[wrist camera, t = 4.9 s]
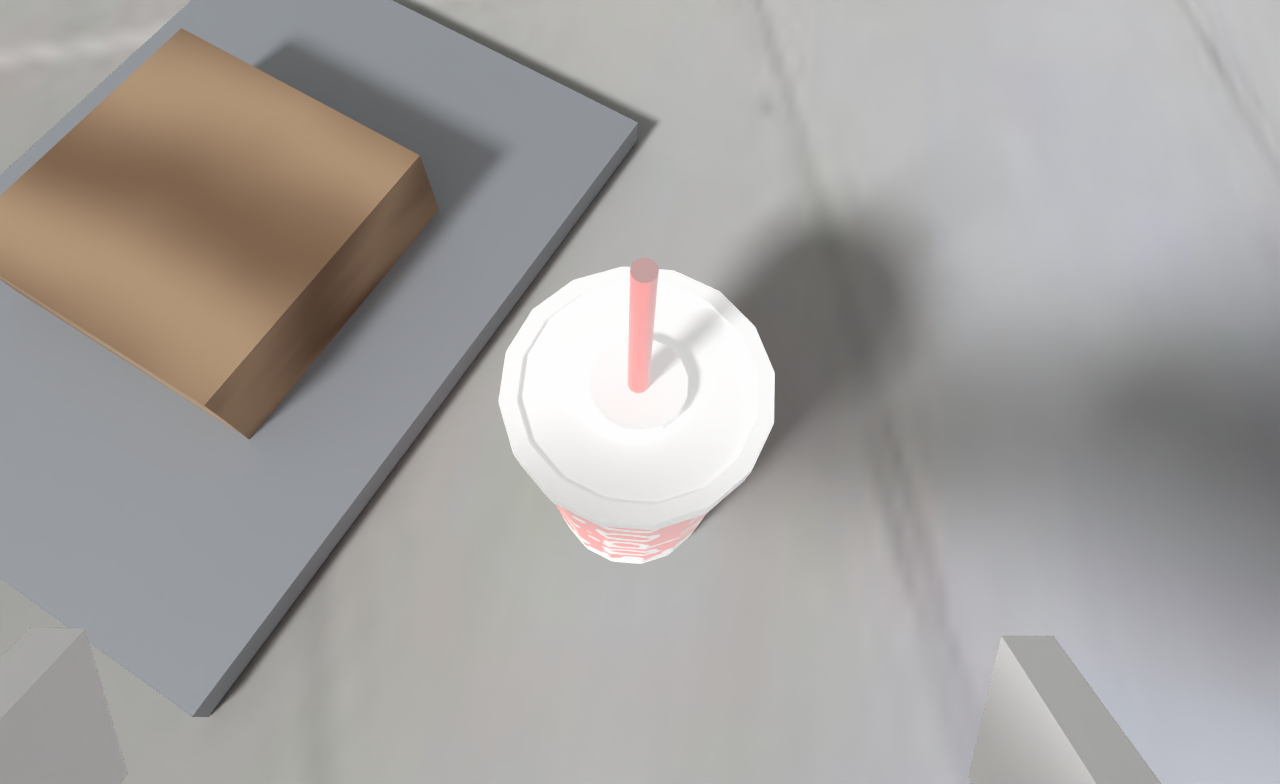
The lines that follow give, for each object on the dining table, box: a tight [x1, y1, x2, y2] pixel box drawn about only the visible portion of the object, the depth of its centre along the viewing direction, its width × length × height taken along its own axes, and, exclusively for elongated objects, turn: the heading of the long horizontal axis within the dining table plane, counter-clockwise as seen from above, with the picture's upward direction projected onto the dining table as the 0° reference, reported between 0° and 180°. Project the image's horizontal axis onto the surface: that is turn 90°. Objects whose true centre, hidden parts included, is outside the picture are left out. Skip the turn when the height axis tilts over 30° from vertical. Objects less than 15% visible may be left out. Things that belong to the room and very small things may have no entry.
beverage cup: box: [498, 258, 775, 564], centre depth 20 cm, size 6×6×14 cm
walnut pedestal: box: [0, 28, 439, 439], centre depth 27 cm, size 10×10×4 cm
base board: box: [0, 0, 638, 717], centre depth 29 cm, size 24×18×1 cm
